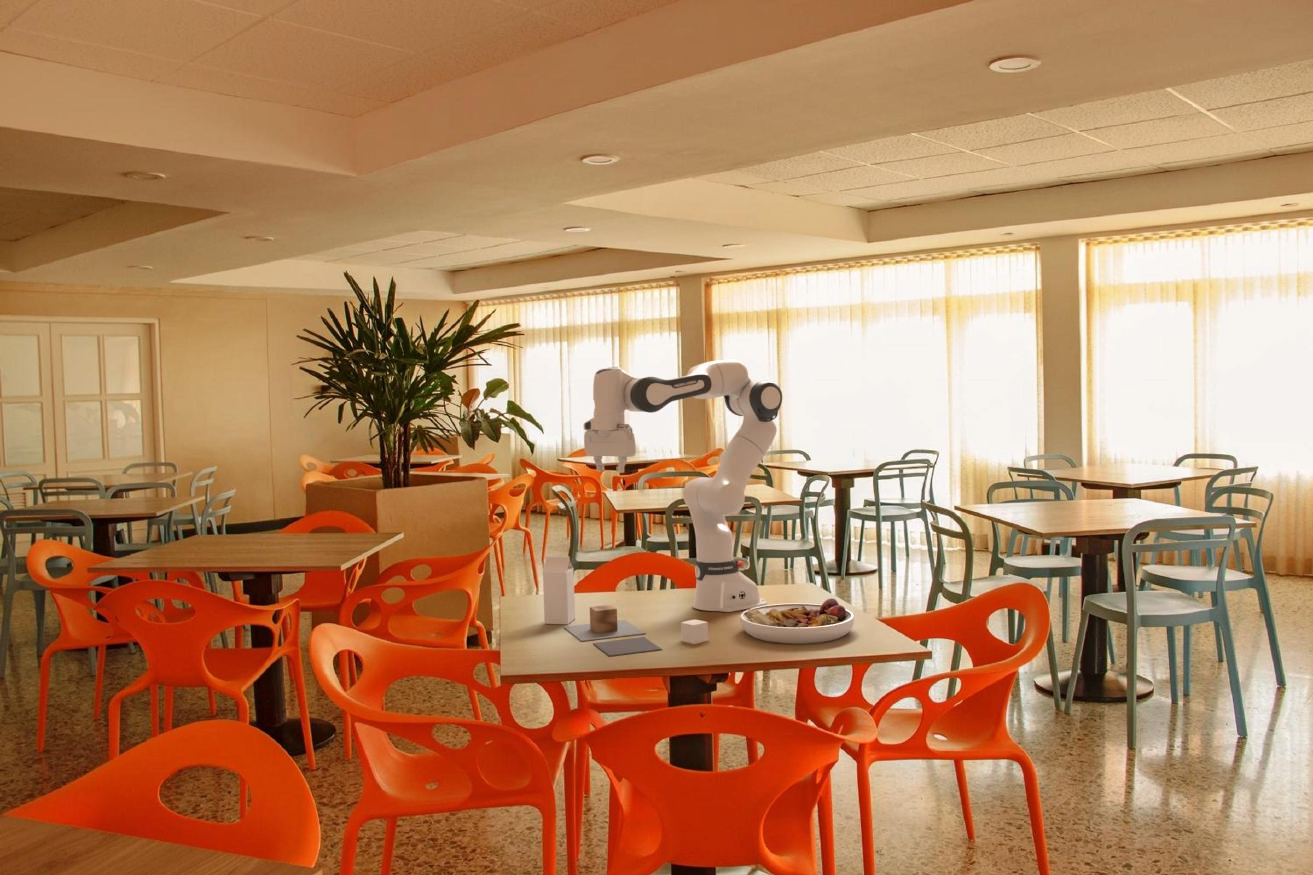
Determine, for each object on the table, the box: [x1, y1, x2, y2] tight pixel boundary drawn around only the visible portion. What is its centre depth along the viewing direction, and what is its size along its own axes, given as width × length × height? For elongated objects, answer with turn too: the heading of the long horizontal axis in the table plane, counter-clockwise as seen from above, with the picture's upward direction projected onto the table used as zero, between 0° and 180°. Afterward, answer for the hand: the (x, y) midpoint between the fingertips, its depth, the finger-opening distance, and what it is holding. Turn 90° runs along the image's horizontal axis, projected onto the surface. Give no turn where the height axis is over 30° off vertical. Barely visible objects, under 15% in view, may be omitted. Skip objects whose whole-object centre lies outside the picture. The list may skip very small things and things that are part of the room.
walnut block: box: [589, 604, 618, 633], centre depth 276 cm, size 6×6×6 cm
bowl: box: [739, 598, 855, 645], centre depth 268 cm, size 30×30×8 cm
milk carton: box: [542, 556, 576, 625], centre depth 289 cm, size 7×7×19 cm
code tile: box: [563, 619, 646, 643], centre depth 276 cm, size 18×18×1 cm
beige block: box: [680, 618, 709, 645], centre depth 262 cm, size 5×5×5 cm
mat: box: [592, 636, 663, 657], centre depth 258 cm, size 14×14×1 cm
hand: (610, 472), depth 287 cm, fingers open, 8 cm apart
